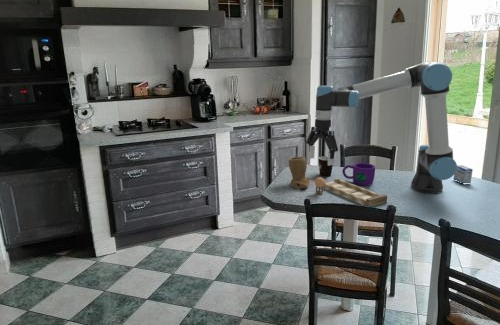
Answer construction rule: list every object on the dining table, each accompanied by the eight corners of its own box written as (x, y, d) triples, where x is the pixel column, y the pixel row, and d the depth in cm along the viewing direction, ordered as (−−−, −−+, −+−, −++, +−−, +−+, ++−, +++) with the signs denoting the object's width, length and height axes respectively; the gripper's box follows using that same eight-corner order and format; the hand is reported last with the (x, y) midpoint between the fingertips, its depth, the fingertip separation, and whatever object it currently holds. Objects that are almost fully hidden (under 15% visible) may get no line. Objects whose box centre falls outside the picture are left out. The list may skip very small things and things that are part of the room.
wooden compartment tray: (386, 202, 185) (387, 195, 184) (368, 207, 179) (369, 200, 178) (336, 182, 213) (336, 176, 212) (319, 186, 207) (319, 179, 206)
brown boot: (290, 179, 218) (290, 153, 214) (311, 181, 215) (312, 155, 211) (284, 188, 204) (285, 160, 200) (307, 190, 201) (308, 162, 197)
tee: (323, 193, 196) (324, 187, 195) (318, 195, 194) (319, 188, 193) (319, 191, 199) (319, 185, 198) (314, 193, 197) (315, 186, 196)
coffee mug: (332, 177, 220) (334, 160, 218) (317, 176, 222) (318, 160, 219) (332, 171, 231) (333, 155, 228) (318, 170, 233) (319, 154, 230)
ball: (326, 187, 195) (327, 178, 193) (319, 189, 192) (319, 179, 191) (320, 184, 199) (320, 175, 198) (312, 186, 196) (312, 177, 195)
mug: (376, 182, 213) (377, 164, 210) (370, 188, 204) (372, 169, 201) (345, 177, 222) (346, 160, 219) (338, 182, 212) (339, 165, 210)
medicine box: (452, 180, 216) (455, 165, 213) (459, 179, 217) (462, 164, 214) (463, 185, 208) (466, 169, 206) (470, 184, 209) (473, 168, 207)
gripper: (300, 115, 194) (298, 156, 200) (335, 123, 174) (332, 169, 180) (312, 114, 198) (310, 154, 204) (347, 122, 178) (344, 166, 184)
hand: (320, 161), depth 192 cm, fingers open, 13 cm apart
